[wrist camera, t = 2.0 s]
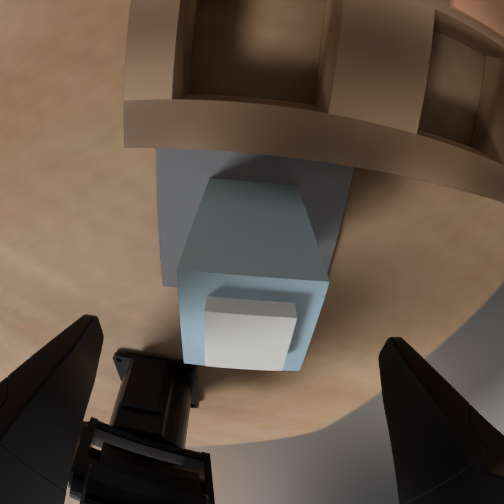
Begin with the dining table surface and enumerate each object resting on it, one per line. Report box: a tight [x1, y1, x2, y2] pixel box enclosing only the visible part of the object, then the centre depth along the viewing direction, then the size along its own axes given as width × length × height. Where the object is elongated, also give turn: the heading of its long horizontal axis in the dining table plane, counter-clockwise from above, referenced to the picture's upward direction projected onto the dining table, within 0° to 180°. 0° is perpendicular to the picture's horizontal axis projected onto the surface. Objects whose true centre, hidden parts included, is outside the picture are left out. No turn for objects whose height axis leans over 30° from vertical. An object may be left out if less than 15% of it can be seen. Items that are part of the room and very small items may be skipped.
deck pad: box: [156, 148, 354, 287], centre depth 15 cm, size 9×9×1 cm
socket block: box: [124, 0, 504, 203], centre depth 9 cm, size 11×18×3 cm, turn 84°
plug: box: [177, 178, 330, 371], centre depth 12 cm, size 4×4×8 cm
